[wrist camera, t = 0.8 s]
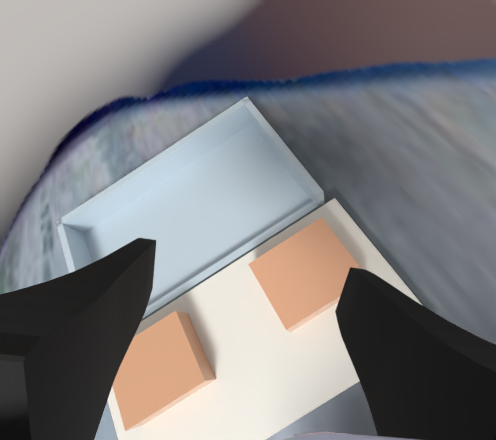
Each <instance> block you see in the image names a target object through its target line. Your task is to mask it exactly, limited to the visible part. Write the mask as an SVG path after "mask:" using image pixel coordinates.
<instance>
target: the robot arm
mask: <svg viewBox="0 0 496 440" xmlns="http://www.w3.org/2000/svg"><path fill="white" fill-rule="evenodd" d="M155 253H156V240H153V239H146V238H137V239H135V240H133V241H132V242H130V243H128V244H126V245H125V246H123V247H121V248H119V249H118V250H116V251H114V252H112V253H110V254H109V255H107V256H105V257H103V258H101V259H99V260H97V261H95V262H93V263H91V264H89V265H87V266H85V267H83V268H81V269H78V270H76V271H74V272H71V273H69V274H66V275H64V276H61V277H58V278H56V279H53V280H50V281H47V282H44V283H40V284H37V285H34V286H30V287H27V288H23V289H20V290H17V291H13V292H9V293H5V294H0V440H94V438H95V435H96V432H97V429H98V426H99V423H100V420H101V417H102V414H103V411H104V408H105V405H106V403H107V400H108V397H109V394H110V391H111V388H112V385H113V382H114V380H115V377H116V375H117V372H118V370H119V367H120V365H121V363H122V361H123V359H124V357H125V354H126V352H127V350H128V348H129V346H130V344H131V342H132V340H133V337H134V335H135V333H136V331H137V329H138V327H139V325H140V322H141V320H142V318H143V316H144V314H145V311H146V308H147V305H148V302H149V299H150V295H151V292H152V289H153V277H154V265H155ZM335 313H336V317H337V322H338V326H339V330H340V333H341V337H342V339H343V342H344V344H345V347H346V349H347V352H348V354H349V356H350V359H351V361H352V364H353V366H354V368H355V371H356V373H357V376H358V378H359V380H360V383H361V385H362V388H363V390H364V393H365V395H366V398H367V401H368V404H369V407H370V410H371V414H372V417H373V420H374V424H375V427H376V431H377V434H378V436H371V435H359V434H348V433H336V432H314V433H303V434H294V435H292V436H290V437H288V438H286V439H284V440H496V345H494V344H492V343H490V342H488V341H486V340H483V339H481V338H479V337H477V336H475V335H473V334H471V333H469V332H467V331H466V330H464V329H462V328H460V327H458V326H456V325H454V324H452V323H451V322H449V321H447V320H445V319H444V318H442V317H440V316H439V315H437V314H435V313H434V312H432V311H430V310H429V309H427V308H425V307H424V306H422V305H421V304H419V303H418V302H416V301H415V300H413V299H411V298H410V297H408V296H407V295H405V294H404V293H402V292H401V291H400V290H398V289H397V288H395V287H394V286H392V285H391V284H389V283H388V282H386V281H385V280H383V279H382V278H380V277H378V276H377V275H375V274H373V273H372V272H370V271H368V270H366V269H359V268H352V267H350V269H349V272H348V275H347V278H346V281H345V284H344V287H343V290H342V293H341V296H340V299H339V302H338V304H337V307H336V310H335Z"/></svg>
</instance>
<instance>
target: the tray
mask: <svg viewBox="0 0 496 440" xmlns="http://www.w3.org/2000/svg"><path fill="white" fill-rule="evenodd" d="M323 205H325V199H324V192H323V190H322V189H321V188H320V186H319V185H318V184H317V183H316V182H315V180H314V179H313V178H312V177H311V175H310V174H309V173H308V172H307V170H306V169H305V168H304V167H303V165H302V164H301V163H300V162H299V160H298V159H297V158H296V157H295V155H294V154H293V153H292V152H291V151H290V149H289V148H288V147H287V146H286V144H285V143H284V142H283V141H282V139H281V138H280V137H279V136H278V134H277V133H276V132H275V131H274V129H273V128H272V127H271V126H270V124H269V123H268V122H267V121H266V120H265V118H264V117H263V116H262V115H261V113H260V112H259V111H258V110H257V108H256V107H255V106H254V105H253V103H252V102H251V101H250V100H249V98H248V97H245V98H244V99H242V100H241V101H239V102H238V103H236V104H235V105H233V106H231V107H230V108H228V109H227V110H225V111H224V112H222V113H221V114H219V115H218V116H216V117H215V118H213V119H212V120H210V121H209V122H207V123H206V124H204V125H203V126H201V127H199V128H198V129H196V130H195V131H193V132H192V133H190V134H189V135H187V136H186V137H184V138H183V139H181V140H180V141H178V142H177V143H175V144H174V145H172V146H170V147H169V148H167V149H166V150H164V151H163V152H161V153H160V154H158V155H157V156H155V157H154V158H152V159H151V160H149V161H148V162H146V163H145V164H143V165H142V166H140V167H138V168H137V169H135V170H134V171H132V172H131V173H129V174H128V175H126V176H125V177H123V178H122V179H120V180H119V181H117V182H116V183H114V184H113V185H111V186H110V187H108V188H106V189H105V190H103V191H102V192H100V193H99V194H97V195H96V196H94V197H93V198H91V199H90V200H88V201H87V202H85V203H84V204H82V205H81V206H79V207H77V208H76V209H74V210H73V211H71V212H70V213H68V214H67V215H65V216H64V217H62V218H61V219H59V220H58V221H56V225H57V229H58V233H59V236H60V240H61V244H62V248H63V251H64V255H65V259H66V263H67V267H68V270H69V273H71V272H74V271H76V270H78V269H81V268H83V267H85V266H87V265H89V264H91V263H93V262H95V261H97V260H99V259H101V258H103V257H105V256H107V255H109V254H110V253H112V252H114V251H116V250H118V249H119V248H121V247H123V246H125V245H126V244H128V243H130V242H132V241H133V240H135V239H137V238H146V239H153V240H156V253H155V265H154V277H153V289H152V292H151V295H150V299H149V302H148V305H147V308H146V311H145V314H144V316H143V318H142V320H141V322H142V321H143V320H145V319H146V318H148V317H149V316H151V315H153V314H154V313H156V312H157V311H159V310H160V309H162V308H163V307H165V306H167V305H168V304H170V303H171V302H173V301H174V300H176V299H178V298H179V297H181V296H182V295H184V294H185V293H187V292H188V291H190V290H192V289H193V288H195V287H196V286H198V285H199V284H201V283H203V282H204V281H206V280H207V279H209V278H210V277H212V276H214V275H215V274H217V273H218V272H220V271H221V270H223V269H224V268H226V267H228V266H229V265H231V264H232V263H234V262H235V261H237V260H239V259H240V258H242V257H243V256H245V255H246V254H248V253H249V252H251V251H253V250H254V249H256V248H257V247H259V246H260V245H262V244H264V243H265V242H267V241H268V240H270V239H271V238H273V237H274V236H276V235H278V234H279V233H281V232H282V231H284V230H285V229H287V228H289V227H290V226H292V225H293V224H295V223H296V222H298V221H299V220H301V219H303V218H304V217H306V216H307V215H309V214H310V213H312V212H314V211H315V210H317V209H318V208H320V207H321V206H323Z"/></svg>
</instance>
